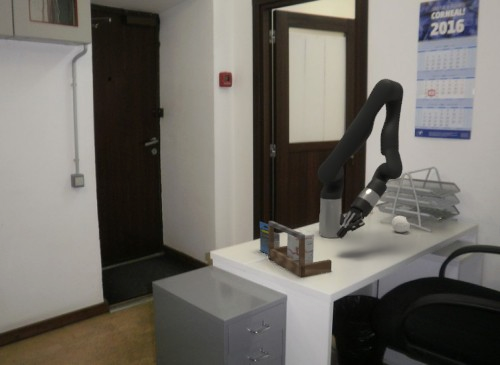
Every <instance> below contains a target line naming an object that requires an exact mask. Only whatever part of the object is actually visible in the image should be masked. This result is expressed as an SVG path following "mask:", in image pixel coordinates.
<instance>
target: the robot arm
mask: <svg viewBox="0 0 500 365" xmlns="http://www.w3.org/2000/svg"><path fill="white" fill-rule="evenodd" d="M403 97H404V88H403V85H402V84H401V83H400V82H398V81H396V80H393V79H390V78H383V79H380V80H379V81H378V82H377V83H376V84H375V85H374V87H373V88H372V90H371V92H370V94H369V95H368V97H367V100H366V101H365V102H364V104H363V106H362V107H361V108H360V110H359V112H358V114H357V115H356V117H355V118H354V119H353V120H352V122H351V123H350V125H349V126H348V128H347V129H346V130H345V132H344V133H343V135H342V137H341V138H340V140H339V141H338V143H337V144H336V146H335V147H334V149H333V150H332V152H331V153H330V154H329V156H328V157H327V158H326V159H325V160H324V161H323V162H322V164H321V165H320V166H319V168H318V171H317V178H318V180H319V181H320V182H321V183H322V184H323V188H322V189H321V191H320V208H319V209H320V210H319V211H320V213H319V216H318V218H319V220H318V228H319V229H318V230H319V231H318V232H319V233H318V234H319V235H320V237H322V238H326V239H327V238H328V239H329V238H330V239H334V238H335V239H337V238H339V239H343V238H344V237H345V236H346V234H348V232H354V231H356V230H358V229H360V228H362V227H364V226H365V225H366V223H365V222H364V219H365V218H367V217H369V215H370V213H371V212H372V211H373V209H374V208H375V206H376V205H377V204H378V202H379V201H380V199H381V198H382V197H383V195H384V194H385V193H386V191H387V189H388V187H387V184H388V182H389V181H391V180H397V179H399V178H400V177H401V176H402V175H403V170H404V167H403V161H402V158H401V154H400V150H399V149H400V136H399V135H400V132H399V131H400V120H401V119H400V118H401V112H402V105H403V99H404V98H403ZM384 106H385V118H384V122H383V125H382V128H381V130H380V140H379V142H380V145H379V146H380V150H379V151H380V155H381V156H383V157H384V158H385V162H383V163H380V165H379V166H378V167H377V168H376V169H375V170H374V173H373V175H372V178H371V180H370V181H369V182H368V183H367V184H366V186H365V187H364V188H363V190H361V191H360V192H359V194H358V195H357V197H356V198H355V199H354V200H353V202H352V203H351V205H350V209H349V210H348V211H347V212H345V213H343V212H342V196H343V191H344V182H345V180H344V179H345V170H344V167H343V166H344V165H345V164H346V163H347V161H348V160H349V159H351V157H352V156H354V155H355V154H356V153H357V152H358V151H360V149H361V148H362V147H363V146H364V145H365V143H366V142H367V141H368V139H369V138H370V136H371V134H372V132H373V129H374V124H375V122H376V117H377V116H378V114H379V112H380V111H381V110H382V108H383V107H384Z"/></svg>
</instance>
